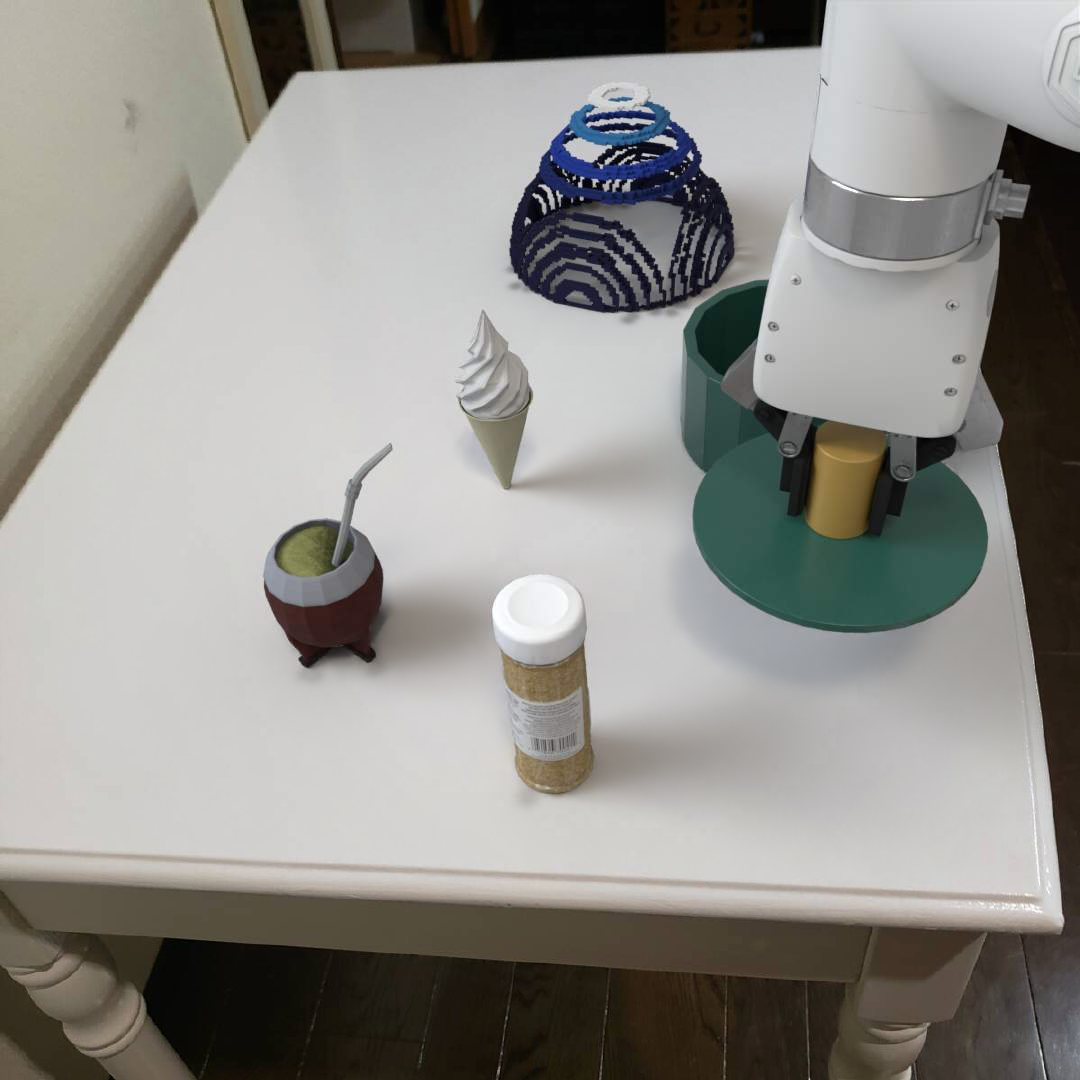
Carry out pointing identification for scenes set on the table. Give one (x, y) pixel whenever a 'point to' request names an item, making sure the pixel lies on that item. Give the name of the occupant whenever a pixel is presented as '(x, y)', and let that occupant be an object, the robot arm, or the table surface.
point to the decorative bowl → (640, 190)
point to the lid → (838, 535)
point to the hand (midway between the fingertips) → (839, 506)
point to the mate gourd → (327, 581)
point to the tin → (719, 372)
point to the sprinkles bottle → (546, 680)
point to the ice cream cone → (495, 397)
